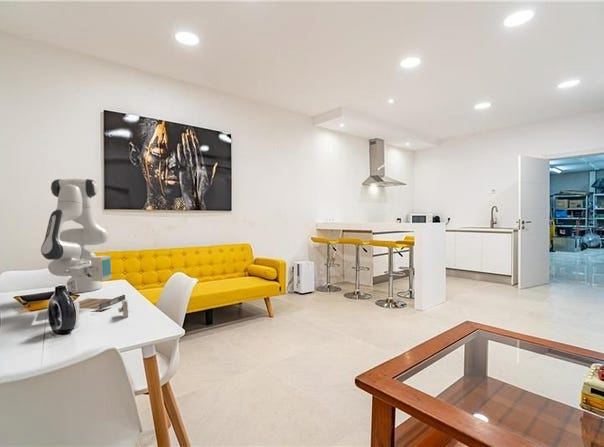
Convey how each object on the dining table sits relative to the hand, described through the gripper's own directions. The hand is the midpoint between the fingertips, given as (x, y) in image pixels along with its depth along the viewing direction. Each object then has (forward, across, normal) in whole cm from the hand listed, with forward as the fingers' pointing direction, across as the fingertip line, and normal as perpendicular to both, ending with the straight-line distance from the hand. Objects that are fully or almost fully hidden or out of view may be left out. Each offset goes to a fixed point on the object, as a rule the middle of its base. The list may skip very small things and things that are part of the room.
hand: (102, 268), depth 161 cm
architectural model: (+22, -12, +21) cm, 32 cm away
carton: (-1, 0, +6) cm, 6 cm away
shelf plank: (-6, 0, +20) cm, 21 cm away
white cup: (+8, -28, +20) cm, 35 cm away
